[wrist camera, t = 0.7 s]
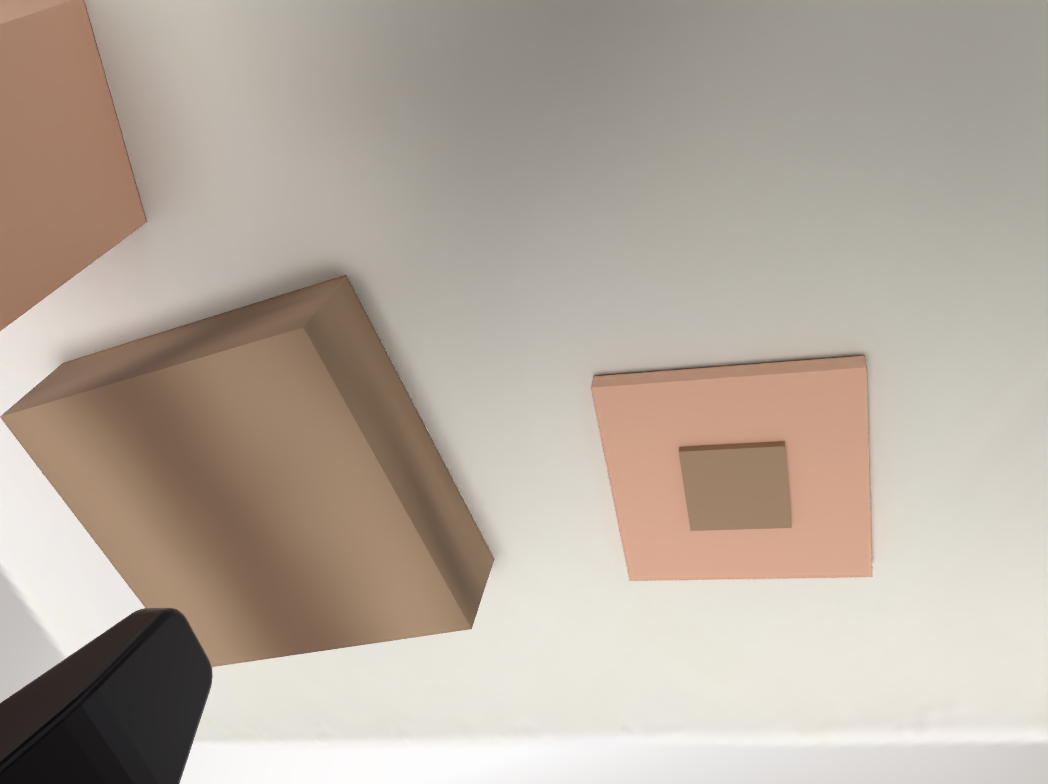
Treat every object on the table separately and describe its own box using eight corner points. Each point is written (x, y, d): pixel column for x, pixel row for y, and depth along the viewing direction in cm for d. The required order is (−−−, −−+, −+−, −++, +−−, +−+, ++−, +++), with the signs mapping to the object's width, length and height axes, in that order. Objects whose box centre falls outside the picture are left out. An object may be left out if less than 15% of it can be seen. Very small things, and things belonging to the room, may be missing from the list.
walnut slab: (352, 267, 22) (303, 327, 20) (497, 549, 26) (471, 629, 24) (71, 355, 26) (0, 416, 23) (238, 595, 30) (192, 669, 27)
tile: (864, 355, 21) (867, 372, 20) (870, 563, 24) (873, 582, 23) (593, 376, 22) (589, 392, 22) (631, 567, 25) (628, 586, 25)
